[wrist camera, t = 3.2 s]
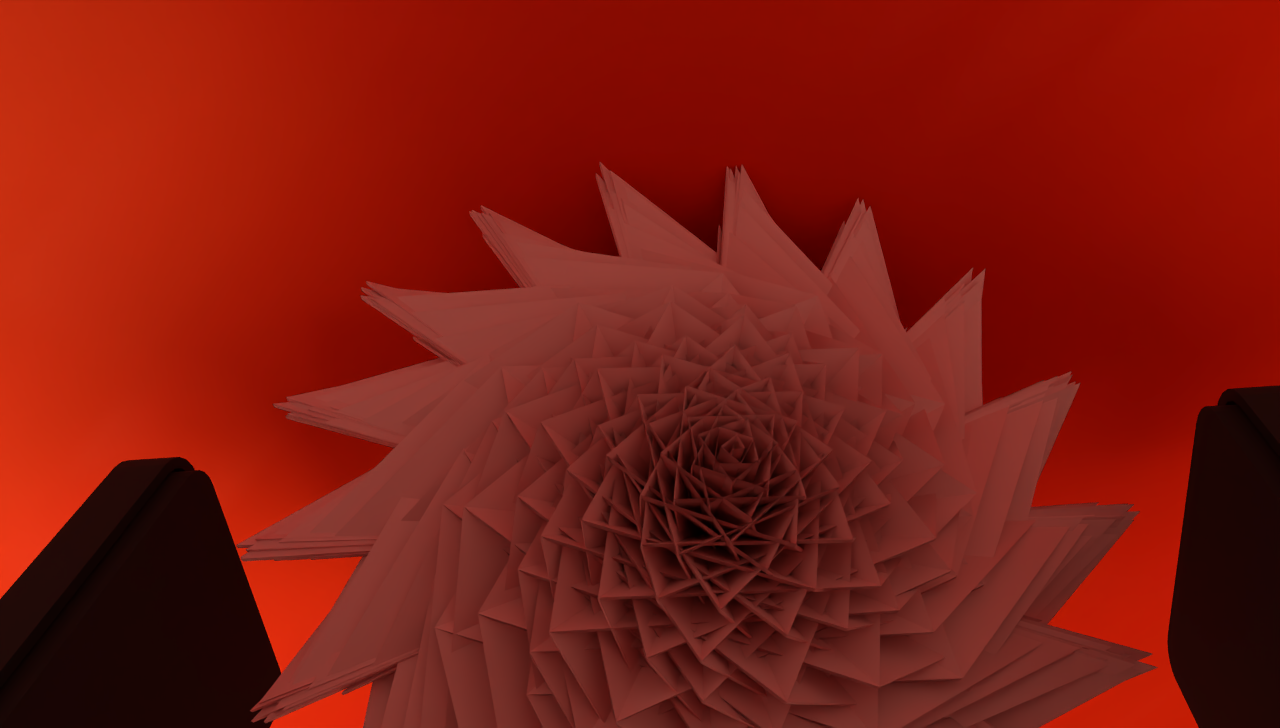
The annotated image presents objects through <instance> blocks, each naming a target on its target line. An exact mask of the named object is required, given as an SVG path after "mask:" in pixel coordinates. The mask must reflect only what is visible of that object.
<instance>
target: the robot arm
mask: <svg viewBox="0 0 1280 728" xmlns="http://www.w3.org/2000/svg"><path fill="white" fill-rule="evenodd" d="M1168 653H1169V659H1170V664H1171V668H1172V671H1173V674H1174V676H1175V679H1176V681H1177V683H1178V685H1179V687H1180V689H1181V691H1182V694H1183V696H1184V698H1185V700H1186V702H1187V704H1188V706H1189V708H1190V710H1191V712H1192V714H1193V716H1194V718H1195V721H1196V723H1197V725H1198V727H1199V728H1280V386H1265V387H1250V388H1234V389H1227V390H1226V391H1224V392H1223V393H1222V395H1221V397H1220V399H1219V401H1218V405H1217V406H1206V407H1204V408H1202V409H1201V411H1200V413H1199V415H1198V419H1197V423H1196V430H1195V438H1194V445H1193V452H1192V460H1191V467H1190V475H1189V482H1188V490H1187V497H1186V504H1185V512H1184V519H1183V527H1182V534H1181V541H1180V549H1179V556H1178V564H1177V571H1176V578H1175V586H1174V593H1173V601H1172V608H1171V615H1170V623H1169V630H1168ZM280 675H281V672H280V668H279V665H278V663H277V660H276V657H275V654H274V652H273V649H272V646H271V643H270V641H269V638H268V635H267V632H266V630H265V627H264V624H263V621H262V619H261V616H260V613H259V610H258V608H257V605H256V602H255V599H254V597H253V594H252V591H251V588H250V586H249V583H248V580H247V577H246V575H245V572H244V569H243V566H242V564H241V561H240V558H239V555H238V553H237V550H236V547H235V544H234V542H233V539H232V536H231V533H230V531H229V528H228V525H227V522H226V520H225V517H224V514H223V511H222V509H221V506H220V503H219V500H218V498H217V495H216V492H215V489H214V487H213V484H212V482H211V480H210V478H209V476H208V475H207V474H206V473H205V472H203V471H200V470H196V471H195V470H194V468H193V466H192V465H191V464H190V463H189V462H188V461H187V460H186V459H183V458H181V457H173V458H158V459H142V460H129V461H124V462H121V463H120V464H118V465H117V466H116V467H115V468H114V469H113V470H112V471H111V472H110V473H109V474H108V476H107V477H106V478H105V479H104V480H103V481H102V483H101V484H100V485H99V486H98V487H97V488H96V489H95V491H94V492H93V493H92V494H91V495H90V496H89V497H88V499H87V500H86V501H85V502H84V503H83V504H82V506H81V507H80V508H79V509H78V510H77V511H76V512H75V514H74V515H73V516H72V517H71V518H70V519H69V521H68V522H67V523H66V524H65V525H64V526H63V527H62V529H61V530H60V531H59V532H58V533H57V534H56V536H55V537H54V538H53V539H52V540H51V541H50V542H49V544H48V545H47V546H46V547H45V548H44V549H43V551H42V552H41V553H40V554H39V555H38V556H37V557H36V559H35V560H34V561H33V562H32V563H31V564H30V565H29V567H28V568H27V569H26V570H25V571H24V572H23V574H22V575H21V576H20V577H19V578H18V579H17V580H16V582H15V583H14V584H13V585H12V586H11V587H10V589H9V590H8V591H7V592H6V593H5V594H4V595H3V597H2V598H1V599H0V728H270V726H271V724H272V722H273V720H272V721H270V722H268V723H265V722H264V721H265V719H266V718H267V717H265V718H263V719H261V720H258V721H256V722H254V723H253V722H252V721H251V720H252V719H253V718H254V717H255V716H256V715H257V714H258V713H259V712H260V711H261V710H262V709H263V708H262V709H259V710H257V711H254V712H251V711H250V710H251V709H252V708H253V707H254V706H255V705H256V704H257V703H258V702H259V701H260V700H261V699H262V698H263V697H264V696H265V694H266V693H267V692H268V690H269V689H270V688H271V687H272V685H273V684H274V683H275V682H276V680H277V679H278V678H279V676H280Z"/></svg>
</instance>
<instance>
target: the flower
mask: <svg viewBox="0 0 1280 728" xmlns="http://www.w3.org/2000/svg"><path fill="white" fill-rule="evenodd" d="M600 169H601V172H602V176H603V179H602V178H601V177H600V176H599V175H598V174H597V173H596V180H597V183H598V187H599V190H600V193H601V197H602V200H603V203H604V207H605V210H606V213H607V217H608V220H609V223H610V226H611V230H612V233H613V236H614V240H615V243H616V246H617V250H618V253H619V256H620V257H617V256H610V255H603V254H596V253H589V252H583V251H579V250H574V249H572V248H569V247H567V246H564V245H562V244H559V243H557V242H555V241H553V240H551V239H549V238H547V237H545V236H543V235H541V234H539V233H537V232H535V231H533V230H531V229H529V228H527V227H525V226H523V225H521V224H518V223H516V222H514V221H512V220H510V219H508V218H506V217H504V216H502V215H500V214H498V213H496V212H494V211H492V210H490V209H488V208H486V207H484V206H482V205H480V206H481V210H482V212H483V213H481V214H480V213H478V212H476V211H474V210H472V212H471V211H469V213H470V216H471V218H472V219H473V220H474V222H475V223H476V224H477V226H478V227H479V228H480V230H481V231H482V233H483V239H484V240H485V241H486V243H487V244H488V245H489V247H490V248H491V249H492V251H493V252H494V253H495V255H496V256H497V257H498V259H499V260H500V261H501V263H502V264H503V266H504V267H505V268H506V270H507V271H508V272H509V274H510V275H511V276H512V278H513V279H514V280H515V282H516V283H517V284H518V286H519V287H520V288H512V289H499V290H485V291H471V292H457V293H441V292H430V291H419V290H408V289H397V288H393V287H389V286H385V285H381V284H377V283H373V282H369V281H366V283H367V285H368V286H369V287H371V288H372V289H373V290H371V289H367V288H363V287H361V289H362V291H363V292H364V293H366V294H367V295H368V296H362V295H360V296H361V299H362V300H363V301H365V302H366V303H368V304H369V305H371V306H372V307H373V308H375V309H376V310H378V311H379V312H381V313H382V314H384V315H385V316H387V317H388V318H390V319H391V320H393V321H394V322H395V323H397V324H398V325H400V326H401V327H403V328H404V329H406V330H407V331H409V332H410V333H412V334H413V335H414V336H416V337H417V338H415V337H413V339H414V341H416V342H417V343H419V344H420V345H422V346H423V347H425V348H426V349H428V350H429V351H431V352H432V353H434V354H435V355H437V356H438V357H440V358H437V359H434V360H430V361H427V362H423V363H419V364H416V365H412V366H409V367H405V368H402V369H398V370H395V371H391V372H388V373H384V374H380V375H377V376H373V377H370V378H366V379H363V380H359V381H356V382H352V383H349V384H345V385H341V386H337V387H332V388H327V389H323V390H318V391H313V392H308V393H304V394H299V395H294V396H289V397H286V398H287V400H288V401H290V402H285V403H275V404H273V406H274V407H275V408H279V409H282V410H285V411H289V412H291V413H287V414H288V415H285V416H286V417H287V419H290V420H293V421H297V422H301V423H304V424H308V425H312V426H315V427H319V428H323V429H326V430H330V431H334V432H337V433H341V434H345V435H348V436H352V437H356V438H359V439H363V440H367V441H370V442H374V443H377V444H381V445H385V446H388V447H392V448H394V449H393V450H392V451H391V452H390V453H389V454H388V455H387V456H386V457H385V458H384V459H383V460H382V461H381V462H380V463H379V464H378V465H377V466H376V467H375V468H373V469H372V470H370V471H368V472H367V473H365V474H363V475H361V476H359V477H358V478H356V479H354V480H352V481H350V482H349V483H347V484H345V485H343V486H341V487H340V488H338V489H336V490H334V491H332V492H331V493H329V494H327V495H325V496H323V497H322V498H320V499H318V500H316V501H315V502H313V503H311V504H309V505H307V506H306V507H304V508H302V509H300V510H298V511H297V512H295V513H293V514H291V515H289V516H288V517H286V518H284V519H282V520H280V521H279V522H277V523H275V524H273V525H272V526H270V527H268V528H266V529H264V530H263V531H261V532H259V533H257V534H255V535H254V536H252V537H250V538H248V539H246V540H245V541H243V542H241V543H239V544H237V545H236V546H237V547H238V548H248V549H246V550H247V552H248V553H246V554H245V555H243V556H242V557H241V559H242V561H256V560H272V559H274V561H280V560H299V559H311V560H315V559H329V558H344V557H358V556H363V557H362V559H361V560H360V562H359V564H358V565H357V567H356V569H355V570H354V572H353V574H352V576H351V577H350V579H349V581H348V582H347V584H346V586H345V587H344V589H343V591H342V592H341V594H340V596H339V598H338V599H337V601H336V603H335V604H334V606H333V608H332V609H331V611H330V612H329V614H328V615H327V616H326V618H325V619H324V620H323V621H322V623H321V624H320V625H319V627H318V628H317V629H316V630H315V632H314V633H313V634H312V635H311V637H310V638H309V639H308V641H307V642H306V643H305V644H304V646H303V647H302V648H301V650H300V651H299V652H298V653H297V655H296V656H295V657H294V658H293V660H292V661H291V662H290V664H289V665H288V666H287V667H286V669H285V670H284V671H283V673H282V674H281V675H280V676H279V678H278V679H277V680H276V682H275V683H274V684H273V685H272V687H271V688H270V689H269V690H268V692H267V693H266V694H265V696H264V697H263V698H262V699H261V700H260V701H259V702H258V703H257V704H256V705H255V706H254V707H253V708H252V709H251V710H250V711H251V712H254V711H257V710H259V709H262V708H263V709H262V710H261V711H260V712H259V713H258V714H257V715H256V716H255V717H254V718H253V719H252V720H251V721H252V722H253V723H254V722H256V721H258V720H261V719H263V718H265V717H267V718H266V719H265V721H264V722H265V723H268V722H270V721H272V720H275V719H277V718H279V717H282V716H284V715H286V714H289V713H291V712H293V711H295V710H298V709H300V708H302V707H305V706H307V705H309V704H311V703H314V702H316V701H318V700H321V699H323V698H325V697H327V696H330V695H332V694H334V693H337V692H339V691H341V690H343V689H346V688H347V689H346V690H344V691H343V692H342V694H343V695H344V694H347V693H349V692H351V691H353V690H355V689H358V688H360V687H362V686H364V685H366V684H369V683H371V682H373V683H372V688H371V693H370V698H369V702H368V707H367V712H366V717H365V721H364V726H363V728H1038V727H1040V726H1042V725H1044V724H1046V723H1048V722H1050V721H1051V720H1053V719H1055V718H1057V717H1059V716H1061V715H1062V714H1064V713H1066V712H1068V711H1070V710H1072V709H1073V708H1075V707H1077V706H1079V705H1081V704H1083V703H1085V702H1086V701H1088V700H1090V699H1092V698H1094V697H1096V696H1097V695H1099V694H1101V693H1103V692H1105V691H1107V690H1108V689H1110V688H1112V687H1114V686H1116V685H1118V684H1120V683H1121V682H1123V681H1125V680H1128V679H1130V678H1133V677H1135V676H1138V675H1140V674H1143V673H1145V672H1148V671H1150V670H1153V669H1155V668H1158V667H1155V666H1152V665H1148V664H1145V663H1142V662H1138V660H1140V659H1143V658H1145V657H1147V656H1150V655H1152V653H1148V652H1144V651H1141V650H1137V649H1133V648H1130V647H1126V646H1123V645H1119V644H1115V643H1112V642H1108V641H1104V640H1101V639H1097V638H1094V637H1090V636H1086V635H1083V634H1079V633H1076V632H1072V631H1068V630H1065V629H1061V628H1057V627H1054V626H1050V625H1047V624H1048V623H1049V622H1050V620H1051V619H1052V618H1053V617H1054V616H1055V614H1056V613H1057V612H1058V611H1059V610H1060V608H1061V607H1062V606H1063V605H1064V604H1065V602H1066V601H1067V600H1068V599H1069V598H1070V596H1071V595H1072V594H1073V593H1074V592H1075V590H1076V589H1077V588H1078V587H1079V586H1080V584H1081V583H1082V582H1083V581H1084V580H1085V578H1086V577H1087V576H1088V575H1089V574H1090V572H1091V571H1092V570H1093V569H1094V568H1095V566H1096V565H1097V564H1098V563H1099V561H1100V560H1101V559H1102V558H1103V557H1104V555H1105V554H1106V553H1107V552H1108V551H1109V549H1110V548H1111V547H1112V546H1113V545H1114V543H1115V542H1116V541H1117V540H1118V539H1119V537H1120V536H1121V535H1122V534H1123V533H1124V531H1125V530H1126V529H1127V528H1128V527H1129V525H1130V524H1131V523H1132V522H1133V521H1134V520H1132V519H1133V518H1134V517H1135V516H1136V515H1137V514H1138V513H1139V512H1140V511H1136V512H1127V511H1128V510H1129V509H1130V508H1131V507H1132V506H1133V505H1134V504H1130V505H1128V504H1114V505H1098V506H1096V505H1097V504H1098V503H1099V502H1096V503H1082V504H1068V505H1053V506H1039V507H1031V504H1032V500H1033V496H1034V492H1035V488H1036V484H1037V481H1038V479H1039V477H1040V474H1041V472H1042V470H1043V467H1044V465H1045V463H1046V461H1047V458H1048V456H1049V454H1050V451H1051V449H1052V447H1053V445H1054V442H1055V440H1056V438H1057V435H1058V433H1059V431H1060V429H1061V426H1062V424H1063V422H1064V419H1065V417H1066V415H1067V413H1068V410H1069V408H1070V406H1071V403H1072V401H1073V399H1074V397H1075V394H1076V392H1077V390H1078V388H1079V385H1080V383H1078V384H1076V385H1074V384H1075V382H1076V381H1075V382H1073V383H1070V384H1068V382H1069V380H1070V379H1071V377H1072V375H1071V376H1070V374H1071V372H1072V371H1071V372H1068V373H1066V374H1064V375H1061V376H1059V377H1057V376H1056V377H1054V378H1051V379H1049V380H1047V381H1044V380H1042V381H1040V382H1038V383H1036V384H1033V385H1031V386H1029V387H1027V388H1024V389H1022V390H1020V391H1017V392H1015V393H1013V394H1011V395H1008V396H1006V397H1004V398H1002V399H1001V397H1000V398H998V399H995V400H993V401H991V402H989V403H986V404H984V405H983V399H982V306H981V300H982V292H983V284H984V276H985V269H984V270H983V271H982V272H981V273H980V274H979V275H978V276H977V277H975V278H974V279H973V280H972V281H971V278H972V271H973V268H972V269H971V270H970V271H969V272H968V273H967V274H966V275H965V276H964V277H963V278H962V279H961V280H960V281H959V282H957V283H956V284H955V285H954V286H953V287H952V288H951V289H950V290H949V291H948V292H947V293H946V294H945V295H944V296H943V297H942V298H941V299H940V300H939V301H938V302H937V303H936V304H935V305H934V306H933V307H932V308H931V309H930V310H929V311H928V312H927V313H926V314H925V315H924V316H923V317H922V318H921V319H920V320H919V321H918V322H916V323H915V324H914V325H913V326H912V327H911V328H910V329H909V330H908V331H907V332H906V330H907V328H906V329H904V328H903V326H902V324H901V322H900V318H899V314H898V311H897V307H896V303H895V299H894V295H893V291H892V287H891V284H890V280H889V276H888V272H887V268H886V264H885V260H884V257H883V253H882V249H881V245H880V241H879V237H878V233H877V230H876V226H875V222H874V218H873V214H872V210H871V206H870V207H869V208H868V210H867V211H866V208H865V204H864V200H862V202H861V204H860V203H859V199H857V201H856V203H855V206H854V208H853V210H852V212H851V214H850V216H849V218H848V221H847V223H846V225H845V222H844V221H843V224H842V226H841V228H840V230H839V232H838V235H837V237H836V239H835V241H834V243H833V246H832V248H831V250H830V252H829V254H828V257H827V259H826V261H825V263H824V266H823V268H822V270H821V271H820V270H819V269H818V268H817V267H816V266H815V265H814V264H813V263H812V262H811V261H810V260H809V259H808V258H807V256H806V255H805V254H804V253H803V252H802V251H801V250H800V249H799V248H798V247H797V246H796V245H795V244H794V243H793V242H792V241H791V239H790V238H789V237H788V236H787V235H786V234H785V233H784V232H783V231H782V230H781V229H780V228H779V227H778V226H777V225H776V224H775V222H774V221H773V219H772V218H771V217H770V215H769V214H768V212H767V210H766V208H765V206H764V204H763V202H762V200H761V199H760V197H759V195H758V193H757V191H756V189H755V187H754V185H753V184H752V182H751V180H750V178H749V176H748V174H747V172H746V171H745V169H744V167H743V165H741V171H740V172H739V170H738V168H737V166H736V167H735V175H733V173H732V170H731V168H730V170H729V168H728V166H727V168H726V180H725V195H724V210H723V226H722V231H721V228H720V225H719V227H718V242H717V252H715V251H714V250H713V249H711V248H710V247H709V246H708V245H706V244H705V243H704V242H702V241H701V240H700V239H699V238H697V237H696V236H695V235H693V234H692V233H691V232H690V231H688V230H687V229H686V228H684V227H683V226H682V225H681V224H679V223H678V222H677V221H675V220H674V219H673V218H671V217H670V216H669V215H668V214H666V213H665V212H664V211H662V210H661V209H660V208H659V207H657V206H656V205H655V204H653V203H652V202H651V201H650V200H648V199H647V198H646V197H644V196H643V195H642V194H641V193H639V192H638V191H637V190H635V189H634V188H633V187H632V186H630V185H629V184H628V183H626V182H625V181H624V180H622V179H621V178H620V177H619V176H617V175H616V174H615V173H613V172H612V171H611V170H610V171H609V170H608V169H607V168H606V167H605V166H604V165H603V164H602V163H601V162H600ZM418 338H419V339H418ZM1043 381H1044V382H1043ZM1067 384H1068V385H1067Z"/></svg>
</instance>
